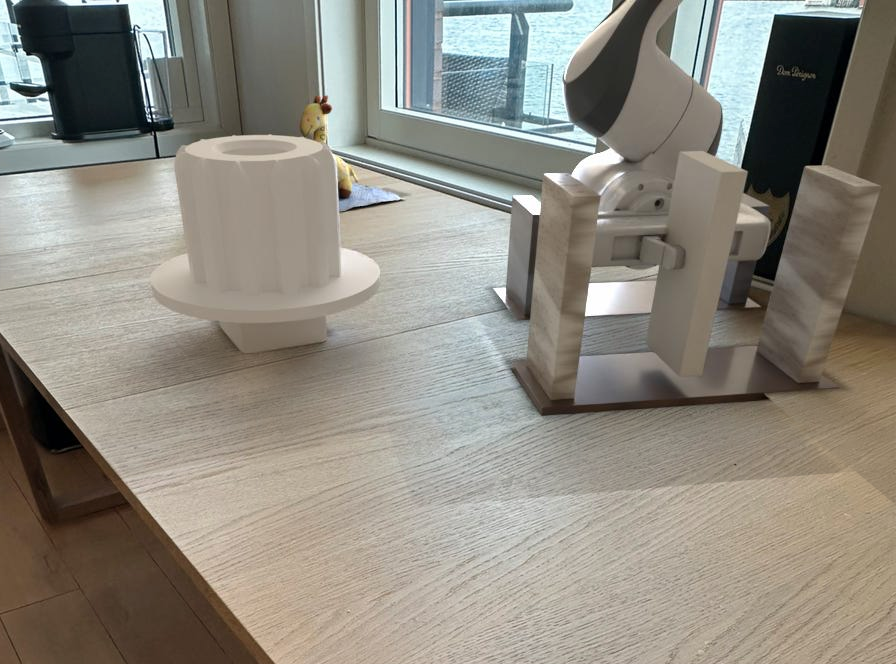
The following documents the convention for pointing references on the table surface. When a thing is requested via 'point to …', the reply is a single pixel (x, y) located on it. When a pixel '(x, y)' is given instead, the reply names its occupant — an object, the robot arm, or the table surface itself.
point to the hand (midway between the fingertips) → (697, 259)
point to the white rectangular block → (695, 259)
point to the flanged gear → (262, 242)
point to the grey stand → (603, 295)
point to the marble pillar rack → (725, 369)
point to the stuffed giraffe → (340, 161)
